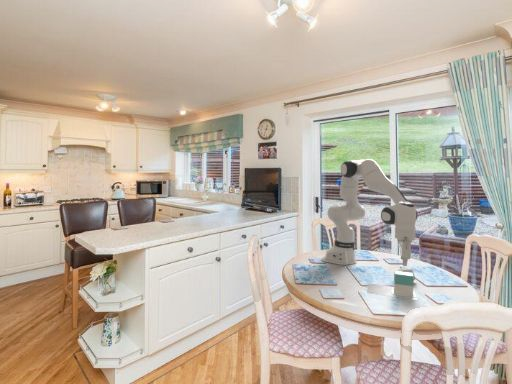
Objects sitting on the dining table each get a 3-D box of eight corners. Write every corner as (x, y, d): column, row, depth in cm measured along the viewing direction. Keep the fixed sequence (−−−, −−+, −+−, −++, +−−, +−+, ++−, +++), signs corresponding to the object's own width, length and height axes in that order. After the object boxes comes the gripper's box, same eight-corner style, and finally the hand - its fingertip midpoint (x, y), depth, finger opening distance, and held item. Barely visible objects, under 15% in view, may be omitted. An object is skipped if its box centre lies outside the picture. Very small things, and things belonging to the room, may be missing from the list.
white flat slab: (367, 294, 136) (367, 292, 136) (367, 284, 148) (367, 282, 148) (417, 302, 128) (417, 300, 127) (414, 291, 139) (414, 289, 139)
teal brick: (394, 283, 135) (395, 273, 134) (394, 280, 139) (394, 270, 139) (413, 286, 131) (413, 276, 131) (412, 282, 136) (412, 272, 136)
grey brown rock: (402, 288, 145) (416, 274, 143) (389, 275, 152) (402, 262, 149) (408, 289, 151) (421, 276, 148) (395, 276, 157) (408, 264, 155)
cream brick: (394, 293, 135) (394, 283, 135) (393, 289, 140) (394, 280, 139) (413, 296, 132) (413, 286, 131) (411, 292, 136) (412, 282, 136)
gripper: (415, 240, 123) (413, 270, 124) (409, 231, 141) (408, 256, 143) (399, 239, 125) (398, 268, 127) (396, 229, 144) (395, 255, 145)
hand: (403, 262), depth 135 cm, fingers open, 8 cm apart
